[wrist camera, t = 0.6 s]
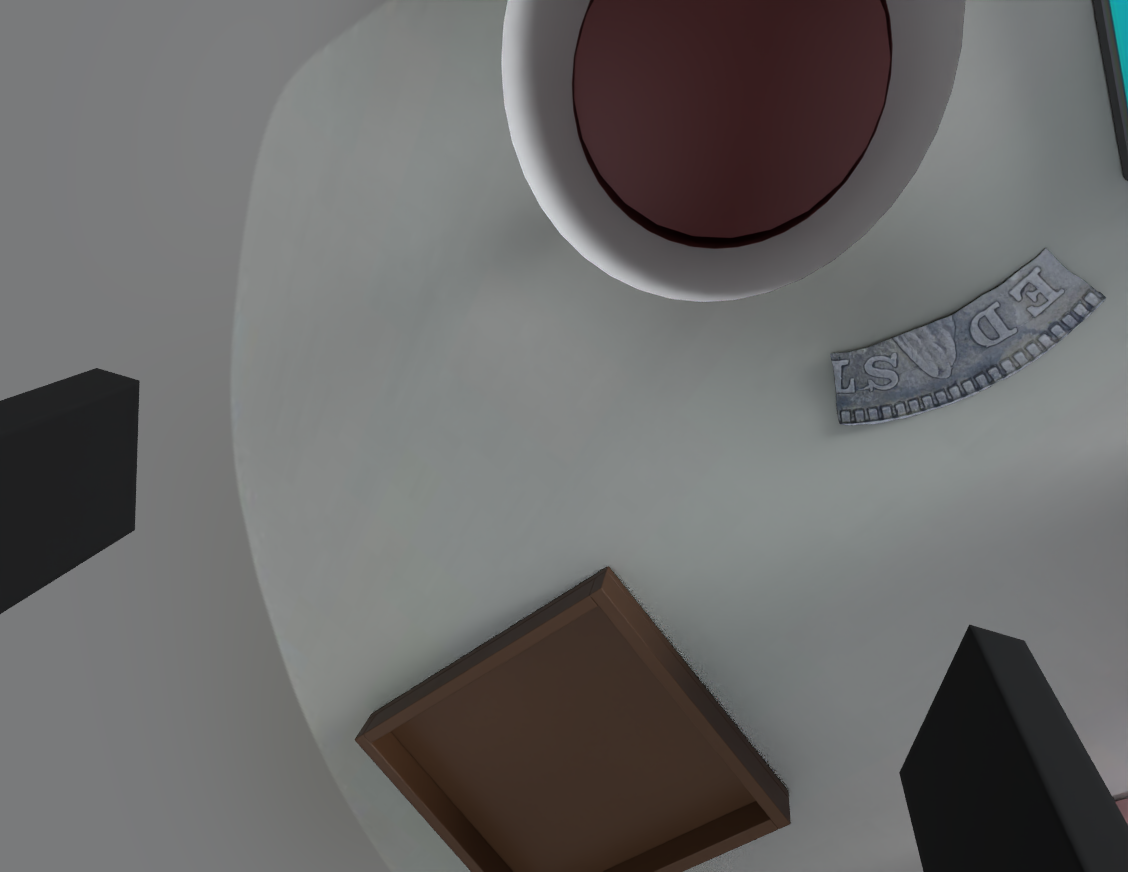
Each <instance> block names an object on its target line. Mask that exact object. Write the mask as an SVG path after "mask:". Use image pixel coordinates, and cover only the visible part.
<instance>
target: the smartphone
mask: <svg viewBox="0 0 1128 872" xmlns="http://www.w3.org/2000/svg"><path fill="white" fill-rule="evenodd" d="M1093 2H1094V8H1095V14H1096V19H1097V25H1098V31H1099V36H1100V42H1101V48H1102V54H1103V59H1104V65H1105V71H1106V76H1107V82H1108V88H1109V93H1110V99H1111V105H1112V110H1113V116H1114V122H1115V127H1116V133H1117V139H1118V144H1119V150H1120V156H1121V161H1122V167H1123V173H1124V177H1125V179H1126V180H1128V0H1093Z"/></svg>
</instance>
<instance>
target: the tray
mask: <svg viewBox="0 0 1128 872" xmlns="http://www.w3.org/2000/svg"><path fill="white" fill-rule="evenodd" d="M355 741H356V742H357V743H358V744H359V745H360V746H361V748H362V749H363V750H364V751H365V752H366V753H367V754H368V756H369V757H370V758H371V759H372V760H373V761H374V762H375V763H376V765H377V766H378V767H379V768H380V769H381V770H382V771H383V772H384V774H385V775H386V776H387V777H388V778H389V779H390V780H391V782H392V783H393V784H394V785H395V786H396V787H397V788H398V789H399V791H400V792H401V793H402V794H403V795H404V796H405V797H406V799H407V800H408V801H409V802H410V803H411V804H412V805H413V806H414V808H415V809H416V810H417V811H418V812H419V813H420V814H421V815H422V817H423V818H424V819H425V820H426V821H427V822H428V823H429V825H430V826H431V827H432V828H433V829H434V830H435V831H436V832H437V834H438V835H439V836H440V837H441V838H442V839H443V840H444V842H445V843H446V844H447V845H448V846H449V847H450V848H451V849H452V851H453V852H454V853H455V854H456V855H457V856H458V857H459V858H460V860H461V861H462V862H463V863H464V864H465V865H466V866H467V868H468V869H469V870H470V871H471V872H683V871H685V870H687V869H690V868H692V867H694V866H696V865H699V864H701V863H703V862H705V861H708V860H710V859H712V858H714V857H717V856H719V855H721V854H723V853H726V852H728V851H730V850H733V849H735V848H737V847H739V846H742V845H744V844H746V843H748V842H751V841H753V840H755V839H757V838H760V837H762V836H764V835H766V834H769V833H771V832H773V831H776V830H778V828H779V829H780V828H782V827H785V826H787V825H789V824H791V823H790V808H789V793H788V790H787V789H786V788H785V787H784V785H783V784H782V783H781V782H780V780H779V779H778V778H777V777H776V775H775V774H774V773H773V772H772V770H771V769H770V768H769V767H768V765H767V764H766V763H765V762H764V760H763V759H762V758H761V757H760V755H759V754H758V753H757V752H756V750H755V749H754V748H753V747H752V745H751V744H750V743H749V742H748V740H747V739H746V738H745V737H744V735H743V734H742V733H741V732H740V730H739V729H738V728H737V727H736V725H735V724H734V723H733V722H732V720H731V719H730V718H729V717H728V715H727V714H726V713H725V712H724V710H723V709H722V708H721V707H720V705H719V704H718V703H717V702H716V700H715V699H714V698H713V697H712V695H711V694H710V693H709V692H708V690H707V689H706V688H705V687H704V685H703V684H702V683H701V682H700V680H699V679H698V678H697V677H696V675H695V674H694V673H693V672H692V670H691V669H690V668H689V667H688V665H687V664H686V663H685V662H684V660H683V659H682V658H681V657H680V655H679V654H678V653H677V652H676V650H675V649H674V648H673V647H672V645H671V644H670V643H669V642H668V640H667V639H666V638H665V637H664V635H663V634H662V633H661V632H660V630H659V629H658V628H657V627H656V625H655V624H654V623H653V622H652V620H651V619H650V618H649V617H648V615H647V614H646V613H645V612H644V610H643V609H642V608H641V607H640V605H639V604H638V603H637V602H636V600H635V599H634V598H633V597H632V595H631V594H630V593H629V592H628V590H627V589H626V588H625V587H624V585H623V584H622V583H621V582H620V580H619V579H618V578H617V577H616V575H615V574H614V573H613V572H612V570H611V569H610V568H609V567H606V568H605V569H603V570H601V571H600V572H598V573H597V574H595V575H593V576H592V577H590V578H589V579H587V580H585V581H584V582H582V583H581V584H579V585H577V586H576V587H574V588H573V589H571V590H569V591H568V592H566V593H564V594H563V595H561V596H560V597H558V598H556V599H555V600H553V601H552V602H550V603H548V604H547V605H545V606H544V607H542V608H540V609H539V610H537V611H536V612H534V613H532V614H531V615H529V616H528V617H526V618H524V619H523V620H521V621H520V622H518V623H516V624H515V625H513V626H512V627H510V628H508V629H507V630H505V631H504V632H502V633H500V634H499V635H497V636H496V637H494V638H492V639H491V640H489V641H488V642H486V643H484V644H483V645H481V646H480V647H478V648H476V649H475V650H473V651H472V652H470V653H468V654H467V655H465V656H464V657H462V658H460V659H459V660H457V661H455V662H454V663H452V664H451V665H449V666H447V667H446V668H444V669H443V670H441V671H439V672H438V673H436V674H435V675H433V676H431V677H430V678H428V679H427V680H425V681H423V682H422V683H420V684H419V685H417V686H415V687H414V688H412V689H411V690H409V691H407V692H406V693H404V694H403V695H401V696H399V697H398V698H396V699H395V700H393V701H391V702H390V703H388V704H387V705H385V706H383V707H382V708H380V709H379V710H377V711H375V712H374V713H372V714H371V716H370V717H369V718H368V720H367V722H366V723H365V725H364V726H363V728H362V729H361V731H360V732H359V734H358V735H357V737H356V738H355Z"/></svg>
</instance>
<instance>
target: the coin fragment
mask: <svg viewBox="0 0 1128 872" xmlns="http://www.w3.org/2000/svg"><path fill="white" fill-rule="evenodd" d="M1105 299H1106V297H1105V296H1104V295H1103V294H1101V293H1100V292H1097V291H1096V290H1095V289H1094V288H1093V287H1091V286H1090V285H1089V284H1087V282H1085V281H1084V280H1082V279H1081V278H1080V277H1078V276H1076V275H1074V274H1073V273H1071V272H1070V271H1068V269H1066V268H1065V267H1064V266H1063V265H1062V264H1061V263H1060V262H1059V261H1058V260H1057V259H1056V258H1055V257H1054V256H1053V254H1052V253H1051V252H1050V251H1049V250H1048V249H1047V248H1045V249H1044V250H1043V252H1042V253H1041V254H1040V255H1039V256H1038V257H1037V258H1035V259H1034V260H1033V261H1032V262H1031V263H1029V264H1028V265H1026V266H1025V267H1023V268H1022V269H1020V270H1019V272H1017V273H1015V274H1014V275H1013V276H1012V277H1011V278H1009V279H1008V280H1007V281H1005V282H1004V283H1003V284H1002V285H1000V286H999V287H997V288H995V289H994V290H992V291H990V292H987V293H986V294H983V295H982V296H980V297H979V298H978V299H976V300H975V301H973V302H972V303H970V304H968V305H967V306H965V307H964V308H962V309H961V310H959V311H958V312H956V313H955V314H953V315H951V316H949V317H946V318H943V319H940V320H937V321H935V322H933V323H931V324H928V325H926V326H924V327H921V328H916V329H914V330H911V331H910V332H907V333H904V334H902V335H899V336H897V337H894V338H891V339H888V340H886V341H883V342H881V343H878V344H876V345H873V346H871V347H868V348H863V349H860V350H856V351H851V352H845V353H832V354H830V355H831V360H832V364H833V368H834V376H835V385H836V387H835V388H836V392H837V394H836V401H837V403H836V406H837V414H838V420H839V423H840V424H844V425H858V424H879V423H883V422H887V421H892V420H894V419H902V418H907V417H911V416H914V415H918V414H920V413H922V412H927V411H929V410H933V409H936V408H939V407H941V408H942V407H943V406H946V405H950V404H953V403H955V402H957V401H960V400H962V399H964V398H966V397H969V396H973V395H975V394H976V393H978V392H980V391H982V390H984V389H986V388H989V387H991V386H992V385H993V384H994V383H996V382H998V381H1000V380H1002V379H1005V378H1008V377H1010V376H1011V375H1013V374H1014V373H1016V372H1017V371H1020V370H1021V369H1023V368H1024V367H1026V366H1027V365H1029V364H1030V363H1031V362H1033V361H1035V360H1036V359H1037V358H1039V357H1040V356H1041V355H1043V354H1044V353H1046V352H1047V351H1048V350H1050V349H1051V348H1052V347H1054V346H1055V345H1056V344H1057V343H1058V342H1059V341H1060V340H1061V339H1063V338H1064V337H1065V336H1066V335H1068V334H1069V333H1070V332H1071V331H1072V330H1073V329H1074V328H1075V327H1076V326H1077V325H1078V324H1079V323H1081V322H1082V321H1083V320H1085V319H1086V318H1087V317H1088V316H1089V315H1090V314H1091V313H1092V312H1093V311H1094V310H1095V309H1096V308H1097V307H1098V306H1099V305H1100V304H1101V303H1102V302H1104V300H1105Z"/></svg>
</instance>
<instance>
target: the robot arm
mask: <svg viewBox="0 0 1128 872" xmlns="http://www.w3.org/2000/svg"><path fill="white" fill-rule="evenodd" d="M138 409H139V380H135V379H132V378H129V377H125V376H122V375H118V374H115V373H112V372H108V371H104V370H101V369H98V368H96V369H93V370H90V371H87V372H84V373H81V374H78V375H75V376H72V377H69V378H67V379H64V380H60V381H57V382H54V383H52V384H49V385H46V386H43V387H40V388H37V389H34V390H31V391H28V392H25V393H22V394H19V395H16V396H14V397H10V398H7V399H4V400H2V401H0V614H1V613H3V612H4V611H6V610H7V609H9V608H10V607H12V606H14V605H15V604H17V603H19V602H20V601H22V600H23V599H25V598H27V597H28V596H30V595H31V594H33V593H35V592H36V591H38V590H39V589H41V588H42V587H44V586H46V585H47V584H49V583H51V582H52V581H54V580H55V579H57V578H59V577H60V576H62V575H63V574H65V573H67V572H68V571H70V570H71V569H73V568H75V567H76V566H78V565H79V564H81V563H83V562H84V561H86V560H87V559H89V558H91V557H92V556H94V555H95V554H97V553H99V552H100V551H102V550H103V549H105V548H107V547H108V546H110V545H111V544H113V543H114V542H116V541H118V540H119V539H121V538H123V537H124V536H126V535H127V534H129V533H131V532H132V531H134V530H135V505H136V473H137V440H138V439H137V438H138ZM900 777H901V781H902V785H903V789H904V793H905V798H906V802H907V806H908V810H909V814H910V818H911V822H912V826H913V830H914V834H915V839H916V843H917V847H918V851H919V855H920V859H921V863H922V867H923V871H924V872H1128V824H1127V822H1126V820H1125V819H1124V817H1123V815H1122V813H1121V812H1120V810H1119V808H1118V806H1117V804H1116V803H1115V801H1114V799H1113V797H1112V796H1111V794H1110V792H1109V790H1108V788H1107V787H1106V785H1105V783H1104V781H1103V780H1102V778H1101V776H1100V774H1099V772H1098V771H1097V769H1096V767H1095V765H1094V764H1093V762H1092V760H1091V758H1090V756H1089V755H1088V753H1087V751H1086V749H1085V748H1084V746H1083V744H1082V742H1081V740H1080V739H1079V737H1078V735H1077V733H1076V732H1075V730H1074V728H1073V726H1072V724H1071V723H1070V721H1069V719H1068V717H1067V716H1066V714H1065V712H1064V710H1063V708H1062V707H1061V705H1060V703H1059V701H1058V700H1057V698H1056V696H1055V694H1054V692H1053V691H1052V689H1051V687H1050V685H1049V684H1048V682H1047V680H1046V678H1045V676H1044V675H1043V673H1042V671H1041V669H1040V668H1039V666H1038V664H1037V662H1036V660H1035V659H1034V657H1033V655H1032V653H1031V652H1030V650H1029V648H1028V646H1027V644H1026V643H1025V641H1023V640H1020V639H1016V638H1013V637H1010V636H1006V635H1003V634H999V633H996V632H993V631H989V630H986V629H982V628H979V627H976V626H972V625H969V627H968V629H967V631H966V633H965V635H964V637H963V639H962V641H961V644H960V646H959V648H958V650H957V652H956V654H955V656H954V658H953V660H952V663H951V665H950V667H949V669H948V671H947V673H946V675H945V677H944V680H943V682H942V684H941V686H940V688H939V690H938V692H937V694H936V696H935V699H934V701H933V703H932V705H931V707H930V709H929V711H928V713H927V715H926V718H925V720H924V722H923V724H922V726H921V728H920V730H919V732H918V735H917V737H916V739H915V741H914V743H913V745H912V747H911V749H910V751H909V754H908V756H907V758H906V760H905V762H904V764H903V766H902V768H901V771H900Z"/></svg>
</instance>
